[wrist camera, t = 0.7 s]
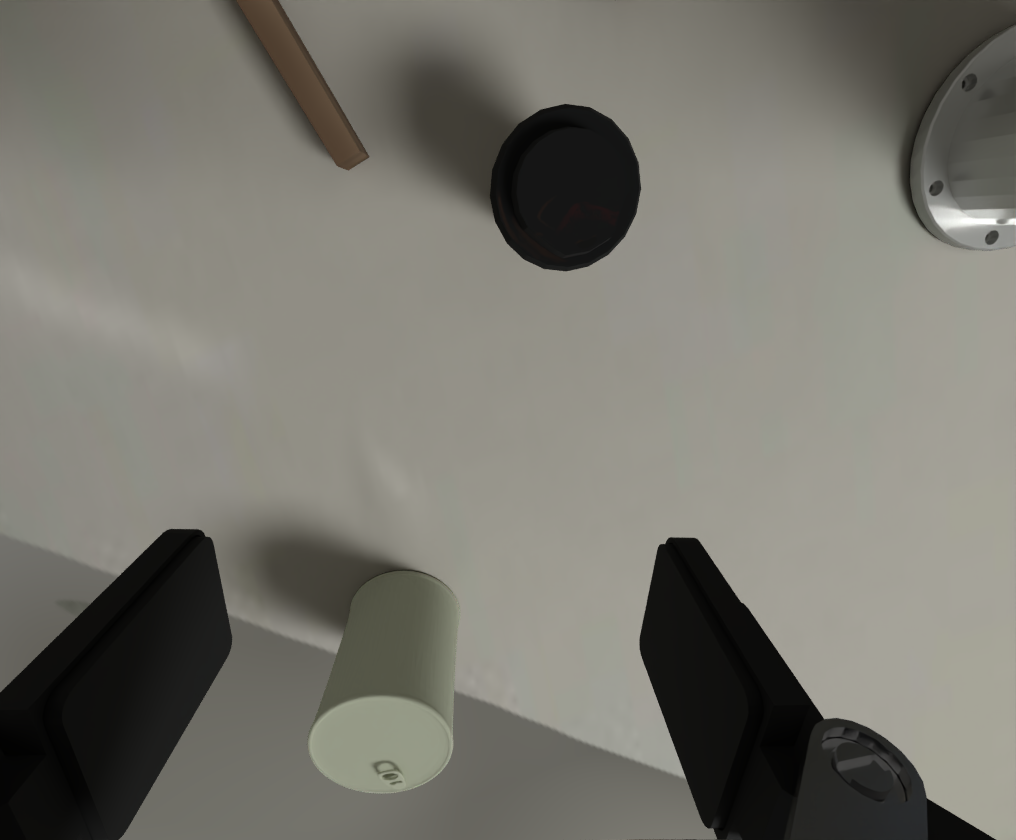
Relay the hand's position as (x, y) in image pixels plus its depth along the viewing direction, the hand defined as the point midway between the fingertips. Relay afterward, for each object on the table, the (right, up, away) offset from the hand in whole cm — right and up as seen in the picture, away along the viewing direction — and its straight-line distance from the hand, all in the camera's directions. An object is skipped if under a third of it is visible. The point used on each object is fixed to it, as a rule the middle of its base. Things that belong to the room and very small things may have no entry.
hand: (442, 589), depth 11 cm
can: (-7, -13, +32) cm, 35 cm away
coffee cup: (+4, +17, +20) cm, 27 cm away
